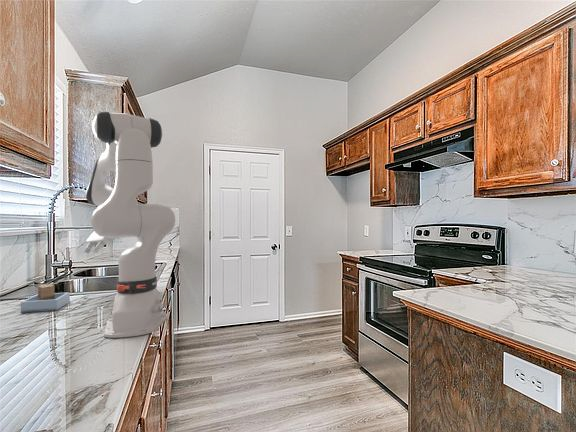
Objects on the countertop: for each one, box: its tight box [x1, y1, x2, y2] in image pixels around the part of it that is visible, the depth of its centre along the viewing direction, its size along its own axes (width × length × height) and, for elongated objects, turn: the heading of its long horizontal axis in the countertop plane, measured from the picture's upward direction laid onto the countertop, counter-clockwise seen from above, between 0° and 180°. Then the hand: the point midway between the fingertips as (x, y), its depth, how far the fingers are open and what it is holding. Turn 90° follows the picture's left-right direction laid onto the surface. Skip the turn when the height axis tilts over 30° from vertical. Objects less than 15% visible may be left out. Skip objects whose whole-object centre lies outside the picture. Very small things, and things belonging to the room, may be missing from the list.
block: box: [37, 283, 56, 300], centre depth 127 cm, size 4×4×8 cm
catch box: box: [20, 292, 71, 314], centre depth 127 cm, size 12×12×4 cm
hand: (89, 252), depth 138 cm, fingers open, 8 cm apart
